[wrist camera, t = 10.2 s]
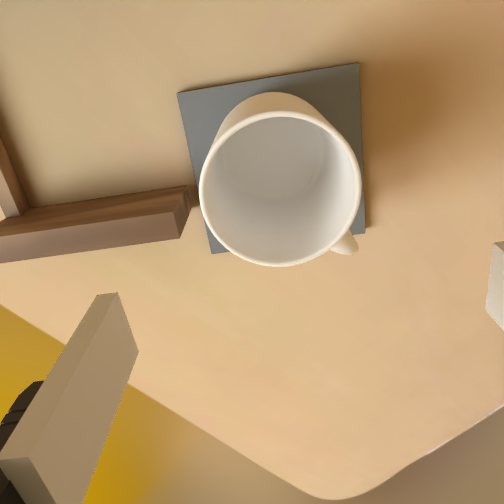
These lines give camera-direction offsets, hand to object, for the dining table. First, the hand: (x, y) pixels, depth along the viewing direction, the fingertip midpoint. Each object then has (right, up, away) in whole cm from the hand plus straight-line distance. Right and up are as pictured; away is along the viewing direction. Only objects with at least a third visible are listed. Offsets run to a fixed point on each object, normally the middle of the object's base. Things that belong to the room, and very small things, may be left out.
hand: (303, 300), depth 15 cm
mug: (+1, +8, +17) cm, 19 cm away
